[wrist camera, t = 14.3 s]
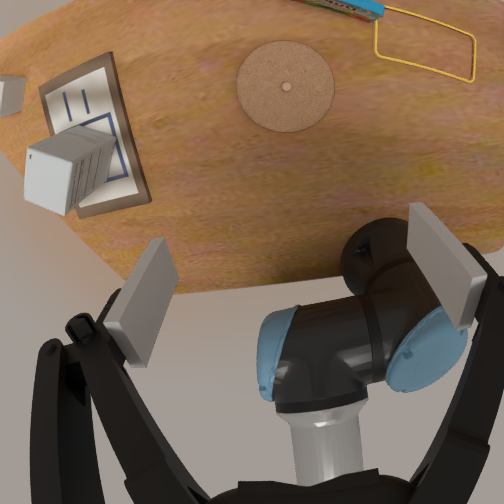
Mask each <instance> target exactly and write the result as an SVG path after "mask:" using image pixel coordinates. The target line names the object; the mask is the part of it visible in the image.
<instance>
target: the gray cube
mask: <svg viewBox="0 0 504 504" xmlns="http://www.w3.org/2000/svg"><path fill="white" fill-rule="evenodd" d="M26 82H27V78H26V77H17V76H7V75H5V76H0V118H2V117H5V116H8V115H11V114H14V113H17V112H20V111H22V107H23V100H24V93H25V87H26Z"/></svg>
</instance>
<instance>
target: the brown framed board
mask: <svg viewBox="0 0 504 504" xmlns="http://www.w3.org/2000/svg"><path fill="white" fill-rule="evenodd" d="M38 88H39V93H40V97H41V101H42V105H43V109H44V113H45V117H46V121H47V125H48V128H49V132H50V135H51V136H54V135H56V134H58V133H61V132H63V131H66V130H68V129H70V128H73V127H76V126H78V125H79V126H82V127H86V128H89V129H92V130H96V131H99V132H102V133H105V134H108V135H111V136H114V137H116V142H115V146H114V150H113V154H112V159H111V163H110V168H109V172H108V176H107V181H106V182H104V183H103V184H102V185H101V186H100V187H98V188H97V189H96V190H95V191H93V192H92V193H91V194H90V195H89V196H87V197H86V198H85V199H84V200H83V201H81V202H80V203H79V204H78V205H77V206H76V207H75V209H76V212H77V214H78V217H79V219H82V218H86V217H90V216H95V215H99V214H103V213H107V212H111V211H116V210H120V209H125V208H129V207H134V206H138V205H143V204H148V203H150V202H151V201H152V199H151V196H150V193H149V189H148V186H147V183H146V180H145V177H144V173H143V170H142V167H141V163H140V160H139V156H138V153H137V149H136V146H135V142H134V139H133V135H132V131H131V128H130V124H129V120H128V116H127V112H126V109H125V105H124V101H123V97H122V92H121V88H120V84H119V80H118V75H117V71H116V67H115V62H114V57H113V53H112V52H107V53H105V54H102V55H100V56H98V57H96V58H94V59H91V60H89V61H87V62H85V63H83V64H81V65H79V66H77V67H75V68H73V69H71V70H69V71H67V72H65V73H63V74H61V75H59V76H57V77H55V78H54V79H52V80H50V81H48V82H46V83H45V84H43V85H41V86H39V87H38Z"/></svg>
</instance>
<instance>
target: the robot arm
mask: <svg viewBox="0 0 504 504" xmlns="http://www.w3.org/2000/svg"><path fill="white" fill-rule="evenodd" d="M341 271H342V274H343V277H344V280H345V283H346V285H347V287H348V288H349V290H350V291H351V292H352V293H353V294H354V295H355V296H350V297H346V298H341V299H336V300H331V301H326V302H320V303H315V304H309V305H304V306H301V305H296V306H294V307H293V308H288V309H284V310H280V311H275V312H272V313H271V314H269V315H268V316H267V317H266V318H265V319H264V321H263V323H262V325H261V328H260V333H259V337H258V345H257V380H258V384H259V391H260V394H261V397H262V398H263V399H264V400H267V401H269V402H272V401H275V405H276V413H277V415H278V416H279V417H281V418H282V419H284V420H285V421H286V422H288V424H289V425H290V427H291V436H292V444H293V452H294V461H295V469H296V478H297V485H293V484H287V483H281V482H275V481H238V488H235V489H232V490H229V491H226V492H224V493H221V494H219V495H217V496H215V497H213V498H212V499H211V498H210V497H209V496H208V495H207V494H206V493H205V492H204V491H203V489H202V488H201V487H200V486H199V485H198V484H197V483H196V481H195V480H194V479H193V477H192V476H191V475H190V473H189V472H188V471H187V469H186V468H185V466H184V465H183V463H182V462H181V461H180V459H179V458H178V456H177V455H176V453H175V452H174V450H173V449H172V447H171V446H170V444H169V443H168V441H167V440H166V438H165V437H164V435H163V433H162V432H161V430H160V429H159V427H158V426H157V424H156V422H155V421H154V419H153V417H152V416H151V414H150V412H149V411H148V409H147V407H146V406H145V404H144V402H143V400H142V399H141V397H140V395H139V394H138V392H137V390H136V388H135V386H134V384H133V382H132V380H131V379H130V377H129V375H128V373H127V371H126V369H125V368H124V367H123V365H124V362H125V360H127V362H128V363H129V365H130V366H131V367H133V368H146V367H147V364H148V361H149V358H150V356H151V353H152V350H153V347H154V344H155V342H156V339H157V336H158V333H159V330H160V327H161V325H162V322H163V319H164V317H165V314H166V311H167V308H168V306H169V303H170V300H171V298H172V295H173V293H174V290H175V287H176V285H177V282H178V280H179V276H178V273H177V270H176V268H175V265H174V262H173V259H172V257H171V254H170V251H169V248H168V245H167V243H166V240H165V237H158V238H152V239H151V241H150V242H149V244H148V246H147V247H146V249H145V250H144V252H143V254H142V255H141V257H140V259H139V260H138V262H137V264H136V265H135V267H134V269H133V270H132V272H131V274H130V275H129V277H128V279H127V281H126V282H125V284H124V286H123V287H122V288H120V289H117V290H116V291H115V292H114V293H113V294H112V295H111V296H110V298H109V300H108V301H107V304H106V305H105V307H104V308H103V309H104V310H102V312H101V314H100V315H99V317H98V319H97V321H96V323H95V322H94V320H93V318H92V317H91V315H90V314H89V313H80V314H78V315H76V316H74V317H73V318H72V319H70V320H69V322H68V323H67V325H66V327H65V331H66V333H67V334H68V336H69V337H70V339H71V340H72V341H73V343H72V344H69V345H65V346H64V345H63V344H62V342H61V341H60V340H59V339H56V338H54V339H50V340H49V341H47V342H45V343H44V344H43V345H42V347H41V348H40V350H39V354H38V360H37V366H36V374H35V381H34V390H33V400H32V412H31V428H30V485H31V501H32V504H105V500H104V496H103V490H102V485H101V480H100V474H99V468H98V462H97V455H96V447H95V439H94V430H93V421H92V410H91V397H92V399H93V402H94V405H95V407H96V410H97V412H98V415H99V417H100V420H101V422H102V425H103V427H104V430H105V432H106V434H107V437H108V439H109V441H110V443H111V445H112V448H113V450H114V452H115V454H116V456H117V458H118V460H119V462H120V464H121V466H122V469H123V470H124V472H125V474H126V478H127V479H126V480H125V481H124V484H125V487H126V489H127V491H128V493H129V495H130V497H131V499H132V500H133V502H134V504H467V502H468V500H469V498H470V496H471V494H472V492H473V490H474V488H475V485H476V483H477V481H478V479H479V476H480V474H481V472H482V469H483V467H484V464H485V462H486V460H487V457H488V454H489V451H490V445H489V444H488V440H489V437H490V434H491V431H492V428H493V425H494V421H495V418H496V415H497V412H498V409H499V405H500V401H501V398H502V394H503V390H504V276H498V274H497V273H496V272H495V270H494V269H493V268H492V267H491V266H490V265H489V263H488V262H487V261H485V259H484V258H483V257H482V256H481V254H480V253H479V252H478V251H477V250H476V249H475V248H474V247H473V246H471V245H469V244H468V243H462V244H461V243H460V241H459V240H458V239H457V238H456V237H455V236H454V235H453V234H452V233H451V231H450V230H449V229H448V228H447V227H446V226H445V225H444V224H443V223H442V222H441V221H440V220H439V219H438V218H437V217H436V216H435V215H434V214H433V213H432V212H431V211H430V210H429V209H428V208H427V207H426V206H425V205H424V204H423V203H422V202H416V203H409V223H408V222H406V221H404V220H401V219H396V218H385V219H380V220H376V221H373V222H371V223H369V224H367V225H365V226H364V227H362V228H361V229H359V230H358V231H357V232H356V233H355V234H354V235H353V236H352V237H351V238H350V240H349V241H348V243H347V244H346V246H345V248H344V251H343V253H342V258H341ZM474 317H475V318H476V320H477V321H478V326H477V329H476V331H475V334H474V336H473V339H472V345H471V349H470V352H469V355H468V358H467V361H466V364H465V367H464V370H463V373H462V375H461V378H460V381H459V383H458V386H457V389H456V391H455V393H454V396H453V399H452V401H451V403H450V406H449V408H448V410H447V413H446V415H445V417H444V419H443V421H442V423H441V426H440V428H439V430H438V432H437V434H436V436H435V438H434V440H433V442H432V444H431V446H430V448H429V450H428V451H427V453H426V455H425V457H424V459H423V461H422V462H421V464H420V466H419V467H418V468H417V470H416V472H415V473H414V475H413V476H412V478H411V479H410V481H409V482H408V481H406V480H403V479H401V478H398V477H394V476H389V475H379V472H378V468H376V469H371V470H366V471H364V470H363V458H362V447H361V437H360V427H359V419H358V414H359V411H360V409H361V408H362V407H363V406H364V404H365V403H366V402H367V400H368V393H367V384H371V383H376V382H379V381H385V380H386V382H387V384H388V385H389V386H390V387H391V389H393V390H394V391H396V392H400V391H401V392H405V393H407V392H413V391H416V390H419V389H422V388H424V387H426V386H429V385H430V384H432V383H434V382H435V381H437V380H438V379H440V378H441V377H442V376H443V375H445V374H446V373H447V372H448V371H449V370H450V369H451V368H452V367H453V366H454V365H455V364H456V363H457V361H458V360H459V359H460V357H461V355H462V353H463V351H464V349H465V347H466V344H467V339H468V332H467V328H470V327H471V325H472V323H473V320H474Z"/></svg>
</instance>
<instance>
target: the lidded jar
mask: <svg viewBox="0 0 504 504" xmlns="http://www.w3.org/2000/svg"><path fill="white" fill-rule="evenodd" d="M236 91H237V96H238V99H239V102H240V104H241V106H242V108H243V110H244V111H245V112H246V114H247V115H248V116H249V117H250V118H251V119H252V120H253V121H254V122H256V123H257V124H259V125H260V126H262V127H264V128H266V129H269V130H272V131H276V132H282V133H291V132H298V131H301V130H305V129H307V128H309V127H311V126H313V125H314V124H316V123H317V122H319V121H320V120H321V119H322V118H323V117H324V116H325V114H326V113H327V112H328V110H329V108H330V106H331V104H332V101H333V98H334V93H335V84H334V77H333V74H332V71H331V69H330V67H329V65H328V64H327V62H326V61H325V60H324V58H323V57H322V56H321V55H320V54H319V53H318V52H316V51H315V50H314V49H312V48H310V47H308V46H307V45H305V44H302V43H299V42H294V41H283V40H281V41H273V42H270V43H267V44H264V45H262V46H260V47H258V48H257V49H255V50H254V51H252V52H251V53H250V54H249V55H248V56H247V57H246V59H245V60H244V61H243V63H242V65H241V67H240V69H239V72H238V75H237V81H236Z"/></svg>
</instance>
